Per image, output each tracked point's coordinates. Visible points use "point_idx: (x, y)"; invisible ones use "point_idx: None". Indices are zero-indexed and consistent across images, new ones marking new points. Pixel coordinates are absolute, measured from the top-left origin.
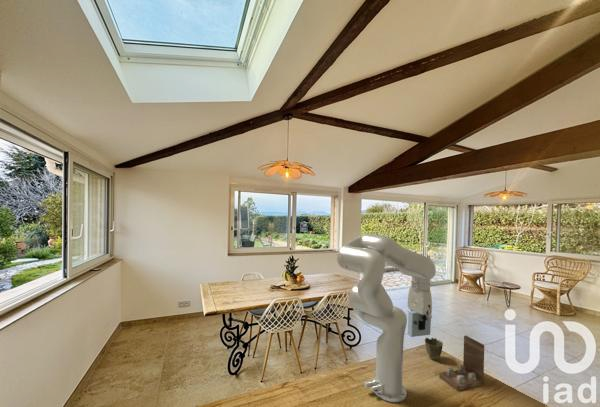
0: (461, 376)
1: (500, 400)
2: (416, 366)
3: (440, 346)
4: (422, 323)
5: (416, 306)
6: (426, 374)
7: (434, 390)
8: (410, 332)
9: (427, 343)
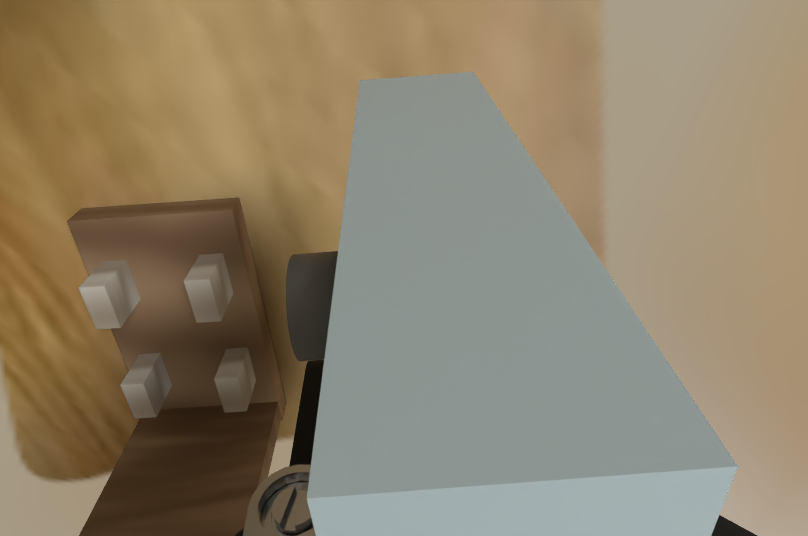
0: (93, 310)
1: (12, 385)
2: None
3: None
4: (294, 447)
5: None
6: (290, 119)
7: (70, 28)
8: (396, 96)
9: None
